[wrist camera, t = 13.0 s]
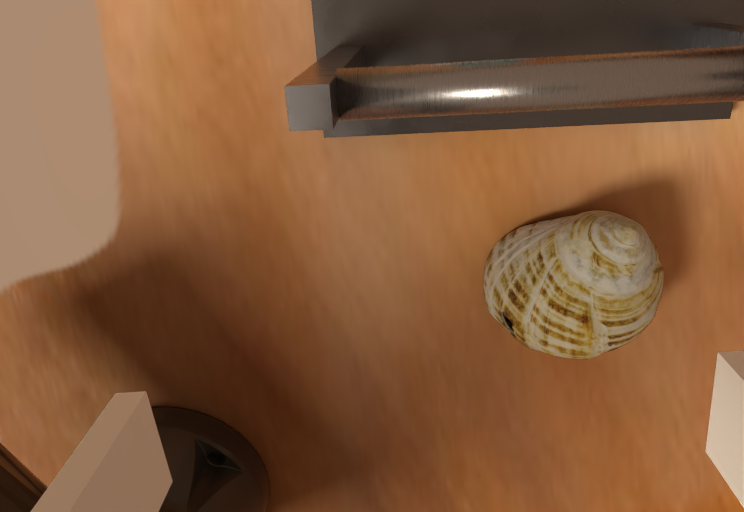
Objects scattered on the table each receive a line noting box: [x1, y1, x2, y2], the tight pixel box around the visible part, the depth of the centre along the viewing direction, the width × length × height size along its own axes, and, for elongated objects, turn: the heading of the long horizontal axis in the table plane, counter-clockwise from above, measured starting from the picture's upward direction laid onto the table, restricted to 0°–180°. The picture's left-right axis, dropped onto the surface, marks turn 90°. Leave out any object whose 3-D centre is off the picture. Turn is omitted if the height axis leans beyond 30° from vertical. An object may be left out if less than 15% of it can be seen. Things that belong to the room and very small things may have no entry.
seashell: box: [483, 210, 664, 359], centre depth 39 cm, size 10×10×10 cm
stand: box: [285, 0, 744, 138], centre depth 29 cm, size 24×9×17 cm, turn 94°
